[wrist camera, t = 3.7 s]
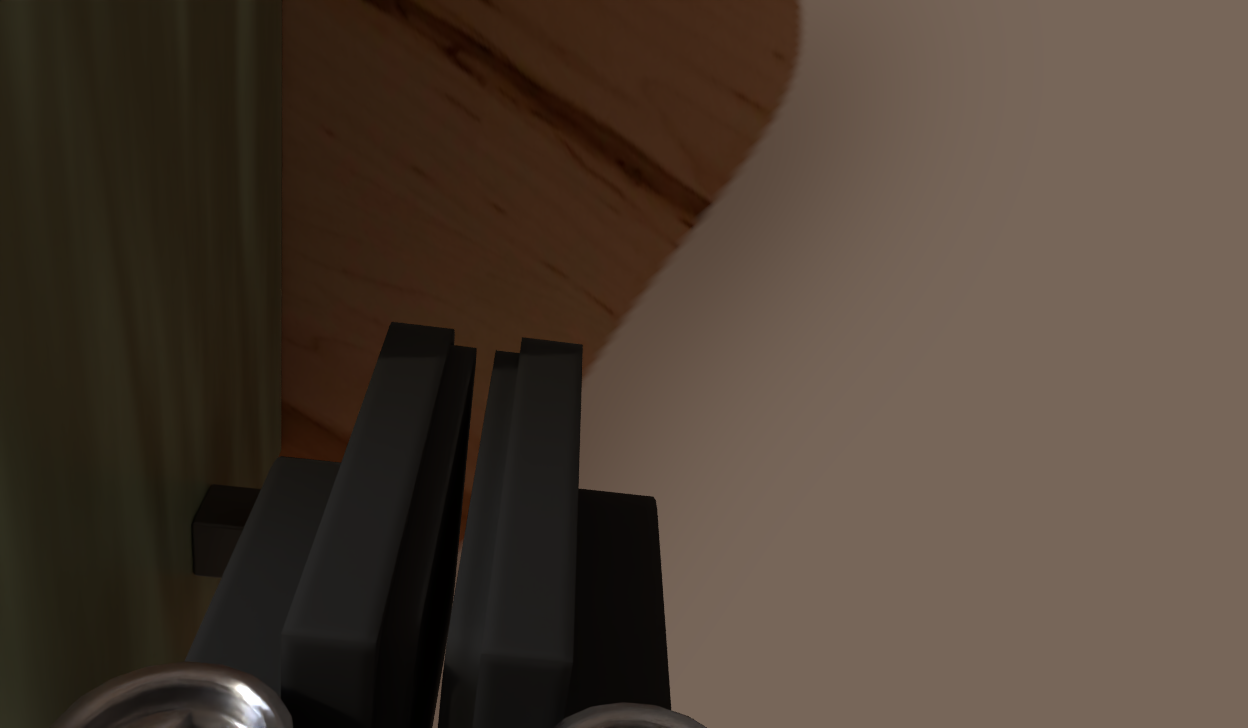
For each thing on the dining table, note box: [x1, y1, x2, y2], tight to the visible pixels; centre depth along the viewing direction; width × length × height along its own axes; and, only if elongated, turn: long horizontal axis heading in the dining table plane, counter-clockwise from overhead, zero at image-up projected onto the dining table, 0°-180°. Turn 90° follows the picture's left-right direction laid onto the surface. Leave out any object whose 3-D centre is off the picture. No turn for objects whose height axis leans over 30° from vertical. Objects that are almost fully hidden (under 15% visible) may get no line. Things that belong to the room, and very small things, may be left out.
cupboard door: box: [0, 0, 282, 728], centre depth 19 cm, size 6×26×24 cm, turn 172°
